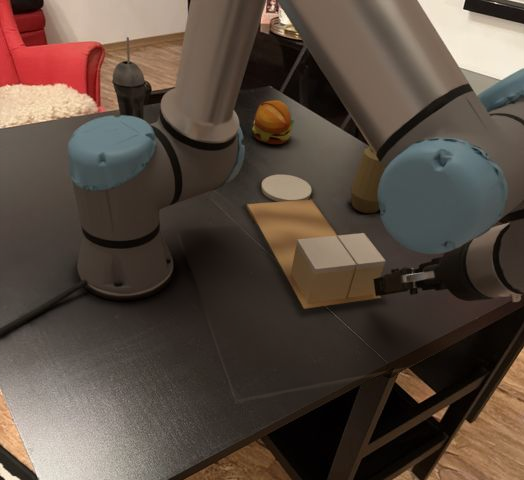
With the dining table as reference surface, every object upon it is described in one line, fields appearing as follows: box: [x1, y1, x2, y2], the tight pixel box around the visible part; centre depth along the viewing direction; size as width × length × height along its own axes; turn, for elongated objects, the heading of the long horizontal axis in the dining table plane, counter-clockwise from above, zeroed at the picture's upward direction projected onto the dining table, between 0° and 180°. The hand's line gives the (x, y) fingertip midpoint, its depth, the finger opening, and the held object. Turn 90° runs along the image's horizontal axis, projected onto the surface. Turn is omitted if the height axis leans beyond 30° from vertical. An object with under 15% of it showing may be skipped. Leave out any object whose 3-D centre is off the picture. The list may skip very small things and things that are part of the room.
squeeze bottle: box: [349, 146, 385, 214], centre depth 97 cm, size 8×8×18 cm
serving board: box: [246, 199, 383, 309], centre depth 89 cm, size 32×14×1 cm, turn 18°
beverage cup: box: [112, 36, 146, 121], centre depth 109 cm, size 7×7×20 cm
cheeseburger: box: [251, 99, 295, 145], centre depth 119 cm, size 10×11×10 cm
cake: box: [291, 236, 356, 303], centre depth 79 cm, size 8×7×7 cm
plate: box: [260, 174, 313, 202], centre depth 104 cm, size 11×11×1 cm
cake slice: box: [337, 232, 386, 298], centre depth 81 cm, size 8×5×7 cm, turn 18°
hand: (378, 286), depth 75 cm, fingers closed
